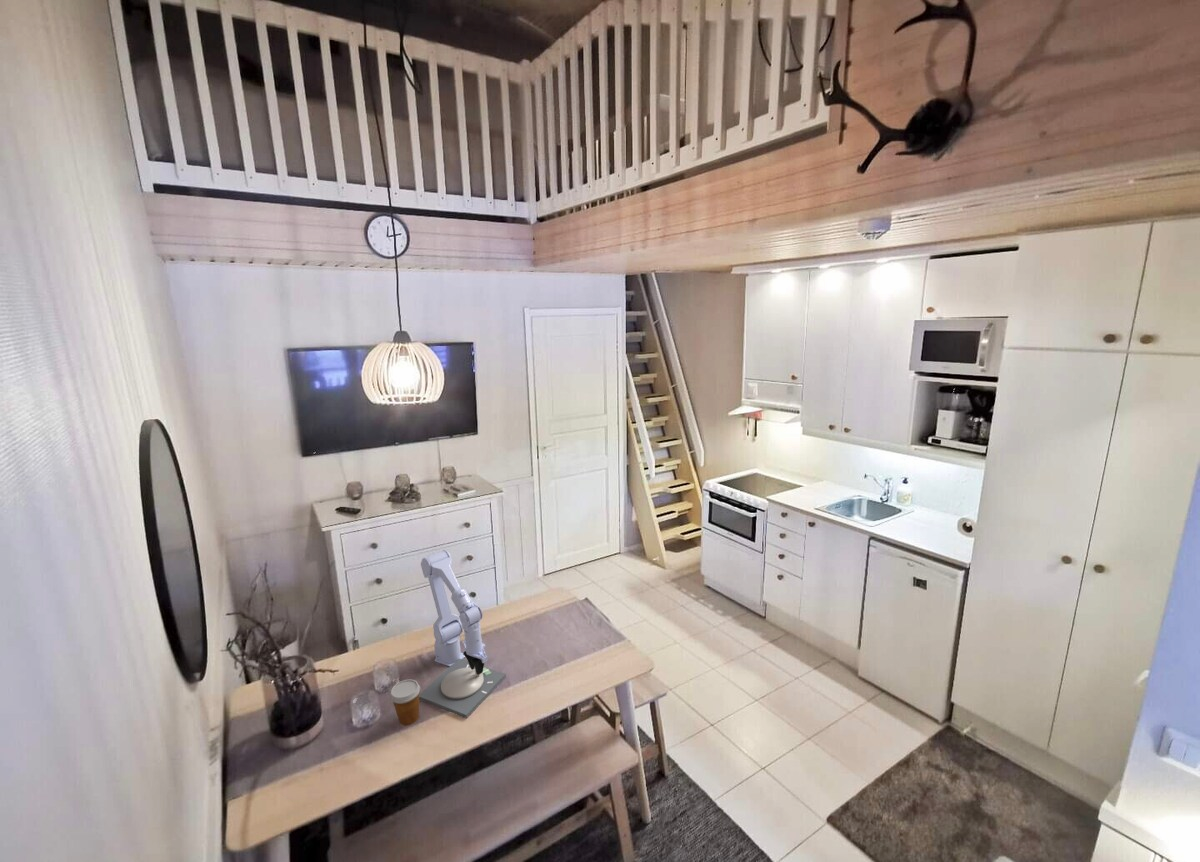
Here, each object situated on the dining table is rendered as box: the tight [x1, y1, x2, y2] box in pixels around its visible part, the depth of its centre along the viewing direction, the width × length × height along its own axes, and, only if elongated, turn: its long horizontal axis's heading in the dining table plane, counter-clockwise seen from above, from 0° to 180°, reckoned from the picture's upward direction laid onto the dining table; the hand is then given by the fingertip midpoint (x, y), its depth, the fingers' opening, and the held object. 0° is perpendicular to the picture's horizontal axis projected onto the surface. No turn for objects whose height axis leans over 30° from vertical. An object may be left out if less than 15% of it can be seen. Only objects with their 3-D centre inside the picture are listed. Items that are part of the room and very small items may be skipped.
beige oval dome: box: [441, 666, 489, 699], centre depth 192 cm, size 18×15×6 cm
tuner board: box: [419, 658, 507, 720], centre depth 193 cm, size 22×22×2 cm
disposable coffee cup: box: [389, 678, 421, 727], centre depth 178 cm, size 10×10×12 cm
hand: (476, 670), depth 196 cm, fingers open, 3 cm apart
